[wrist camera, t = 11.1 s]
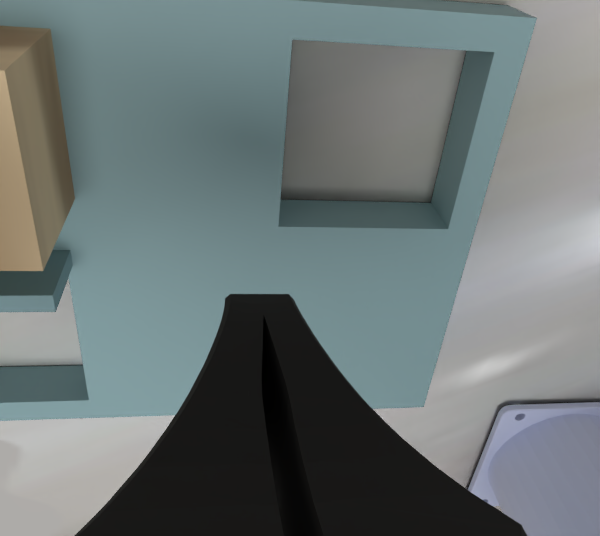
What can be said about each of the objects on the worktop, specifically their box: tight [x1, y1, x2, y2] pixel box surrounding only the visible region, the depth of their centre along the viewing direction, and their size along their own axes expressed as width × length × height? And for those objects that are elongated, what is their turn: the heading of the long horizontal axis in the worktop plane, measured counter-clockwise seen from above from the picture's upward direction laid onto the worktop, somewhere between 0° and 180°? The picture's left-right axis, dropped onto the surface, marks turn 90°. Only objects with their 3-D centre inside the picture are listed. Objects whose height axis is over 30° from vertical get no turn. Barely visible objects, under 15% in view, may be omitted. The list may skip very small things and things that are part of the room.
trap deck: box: [0, 0, 537, 421], centre depth 19 cm, size 20×16×5 cm
